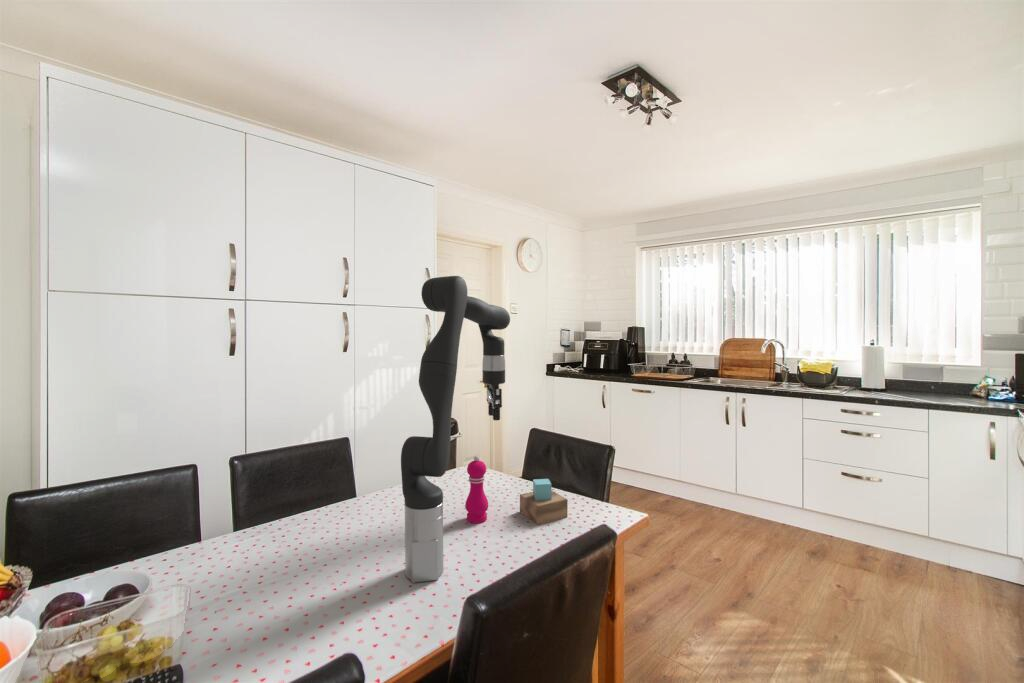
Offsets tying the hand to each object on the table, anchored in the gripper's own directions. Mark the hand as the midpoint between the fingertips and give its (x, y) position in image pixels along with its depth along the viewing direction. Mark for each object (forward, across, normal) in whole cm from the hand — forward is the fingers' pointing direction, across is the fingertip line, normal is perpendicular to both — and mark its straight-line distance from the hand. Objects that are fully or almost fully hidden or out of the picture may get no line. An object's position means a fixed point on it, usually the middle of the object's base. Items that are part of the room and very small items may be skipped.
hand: (494, 417), depth 153 cm
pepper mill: (+30, -8, +7) cm, 32 cm away
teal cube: (+24, -9, -14) cm, 30 cm away
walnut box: (+30, -9, -14) cm, 35 cm away
